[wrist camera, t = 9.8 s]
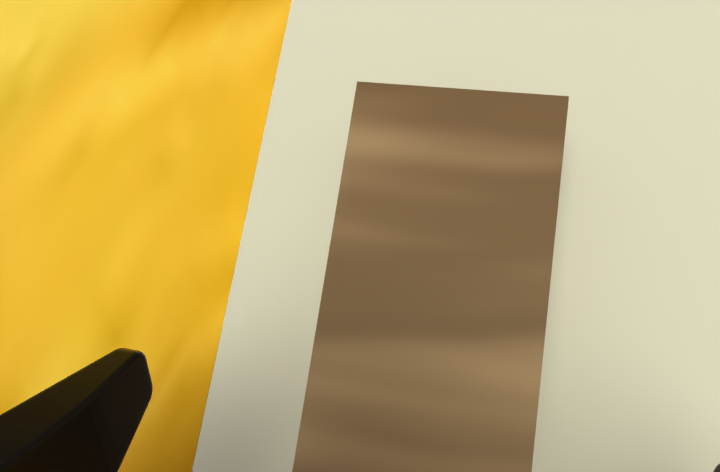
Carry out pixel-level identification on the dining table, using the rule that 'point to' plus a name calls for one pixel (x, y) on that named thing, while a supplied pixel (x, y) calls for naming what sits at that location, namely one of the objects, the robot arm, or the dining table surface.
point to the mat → (573, 227)
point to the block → (436, 283)
